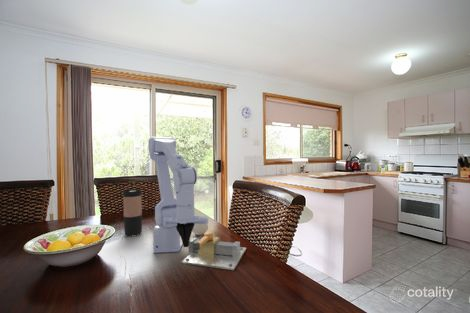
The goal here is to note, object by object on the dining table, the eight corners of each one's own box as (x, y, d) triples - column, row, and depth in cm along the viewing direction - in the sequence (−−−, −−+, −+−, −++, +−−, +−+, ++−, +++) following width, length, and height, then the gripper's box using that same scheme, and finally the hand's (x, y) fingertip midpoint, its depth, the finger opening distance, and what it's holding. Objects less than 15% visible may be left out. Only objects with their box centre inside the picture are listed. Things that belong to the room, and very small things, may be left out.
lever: (206, 236, 84) (206, 231, 84) (214, 237, 83) (214, 232, 83) (190, 250, 72) (190, 244, 72) (199, 251, 71) (199, 245, 71)
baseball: (205, 237, 98) (205, 222, 98) (189, 237, 99) (189, 221, 99) (210, 232, 104) (209, 218, 104) (195, 231, 106) (194, 217, 106)
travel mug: (120, 235, 103) (119, 191, 103) (133, 230, 110) (132, 188, 110) (133, 237, 100) (132, 192, 100) (145, 232, 107) (145, 189, 107)
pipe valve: (187, 253, 81) (187, 240, 81) (194, 247, 87) (194, 235, 87) (236, 258, 76) (236, 245, 76) (240, 251, 82) (240, 239, 82)
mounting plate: (181, 263, 75) (181, 260, 75) (201, 244, 90) (201, 242, 90) (233, 270, 70) (233, 267, 70) (246, 249, 85) (246, 246, 85)
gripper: (159, 207, 71) (160, 251, 71) (205, 206, 71) (206, 250, 71) (166, 203, 78) (167, 242, 78) (208, 202, 78) (209, 242, 78)
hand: (186, 245), depth 75 cm, fingers closed
